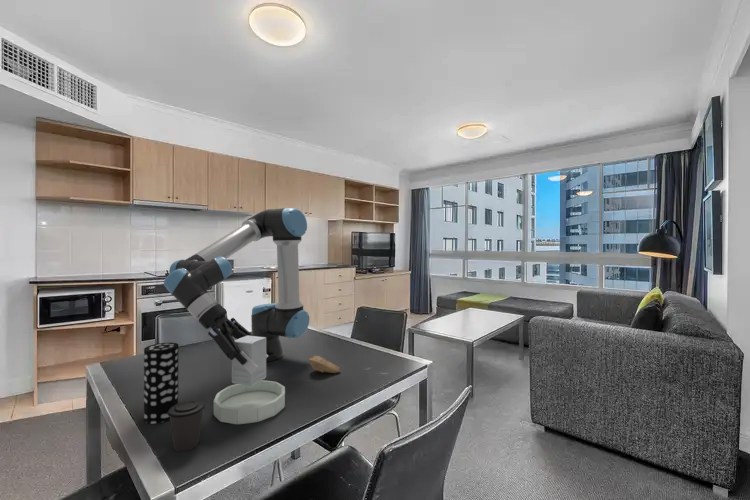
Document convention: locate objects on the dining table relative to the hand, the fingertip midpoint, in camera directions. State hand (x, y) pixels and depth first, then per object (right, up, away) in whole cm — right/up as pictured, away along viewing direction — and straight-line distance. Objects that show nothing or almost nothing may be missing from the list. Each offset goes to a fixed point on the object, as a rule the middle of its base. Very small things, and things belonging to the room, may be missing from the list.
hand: (260, 364), depth 102 cm
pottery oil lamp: (+15, -13, +28) cm, 35 cm away
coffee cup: (-12, -13, -19) cm, 26 cm away
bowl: (-3, -13, +1) cm, 13 cm away
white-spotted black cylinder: (-26, -13, -6) cm, 30 cm away
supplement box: (-3, -5, 0) cm, 6 cm away
